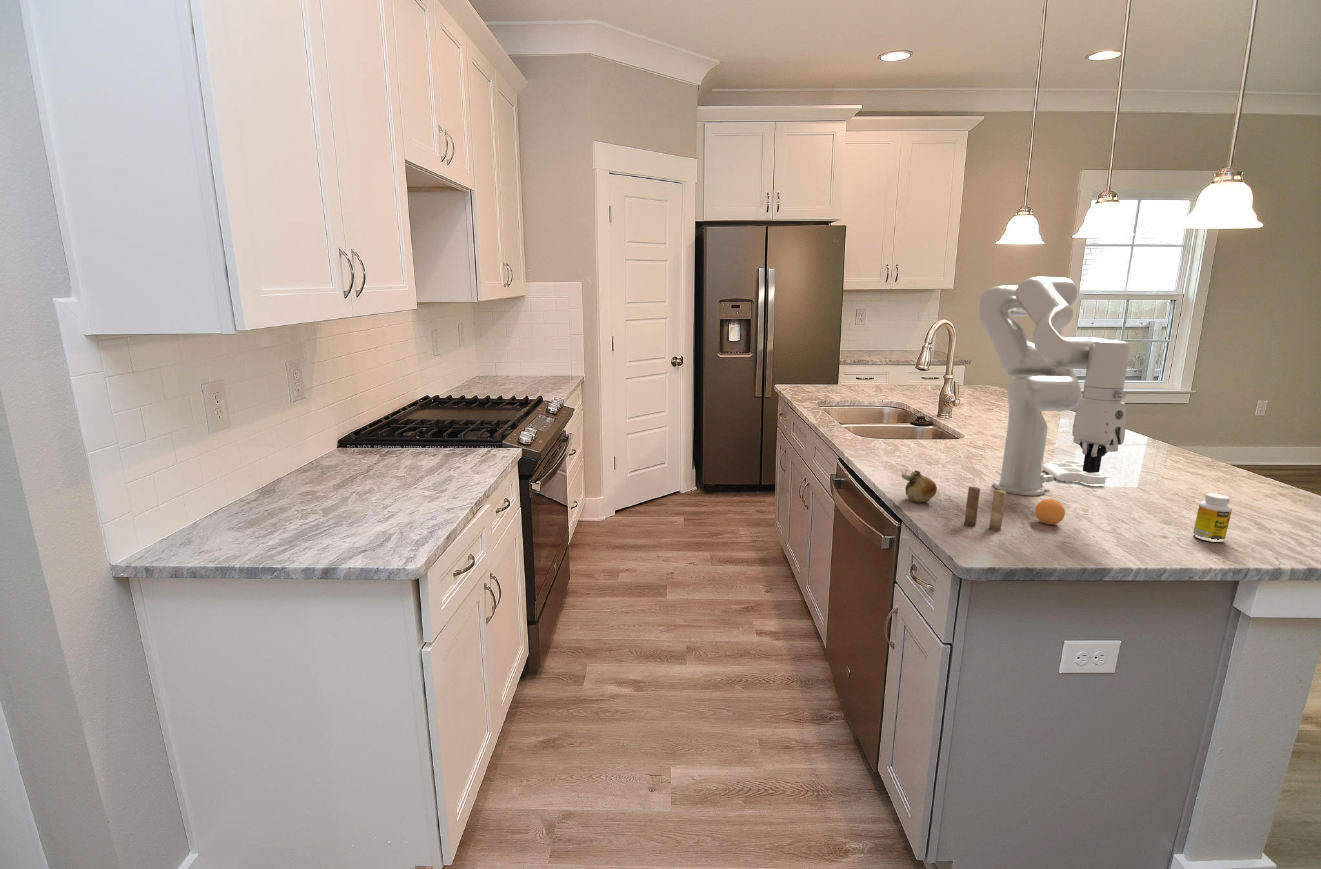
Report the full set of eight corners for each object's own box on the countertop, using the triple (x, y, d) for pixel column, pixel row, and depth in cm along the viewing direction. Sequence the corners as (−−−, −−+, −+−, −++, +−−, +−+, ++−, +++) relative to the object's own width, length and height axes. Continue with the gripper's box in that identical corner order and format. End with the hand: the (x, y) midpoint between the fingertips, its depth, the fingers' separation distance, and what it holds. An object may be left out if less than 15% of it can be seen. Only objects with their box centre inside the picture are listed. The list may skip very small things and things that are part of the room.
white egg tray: (1036, 469, 201) (1087, 471, 199) (1062, 486, 184) (1118, 489, 182) (1038, 458, 200) (1089, 461, 198) (1064, 475, 183) (1120, 478, 181)
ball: (1048, 518, 157) (1051, 494, 155) (1069, 527, 151) (1073, 502, 150) (1027, 520, 155) (1031, 496, 154) (1048, 529, 149) (1051, 504, 148)
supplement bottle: (1211, 544, 142) (1221, 500, 139) (1186, 535, 147) (1195, 492, 145) (1231, 542, 143) (1241, 498, 141) (1205, 533, 148) (1214, 491, 146)
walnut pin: (970, 522, 153) (975, 486, 151) (977, 526, 151) (982, 489, 149) (961, 523, 152) (966, 487, 150) (968, 527, 150) (973, 490, 148)
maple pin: (995, 526, 151) (1000, 489, 149) (1003, 530, 148) (1008, 492, 146) (986, 527, 150) (991, 490, 148) (994, 531, 148) (999, 493, 146)
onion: (916, 507, 163) (919, 477, 161) (896, 497, 171) (899, 468, 169) (941, 505, 165) (945, 475, 163) (921, 495, 172) (924, 466, 171)
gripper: (1146, 398, 142) (1133, 479, 146) (1086, 389, 156) (1076, 463, 160) (1119, 399, 140) (1106, 481, 144) (1061, 390, 154) (1051, 465, 158)
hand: (1090, 471), depth 152 cm, fingers closed
